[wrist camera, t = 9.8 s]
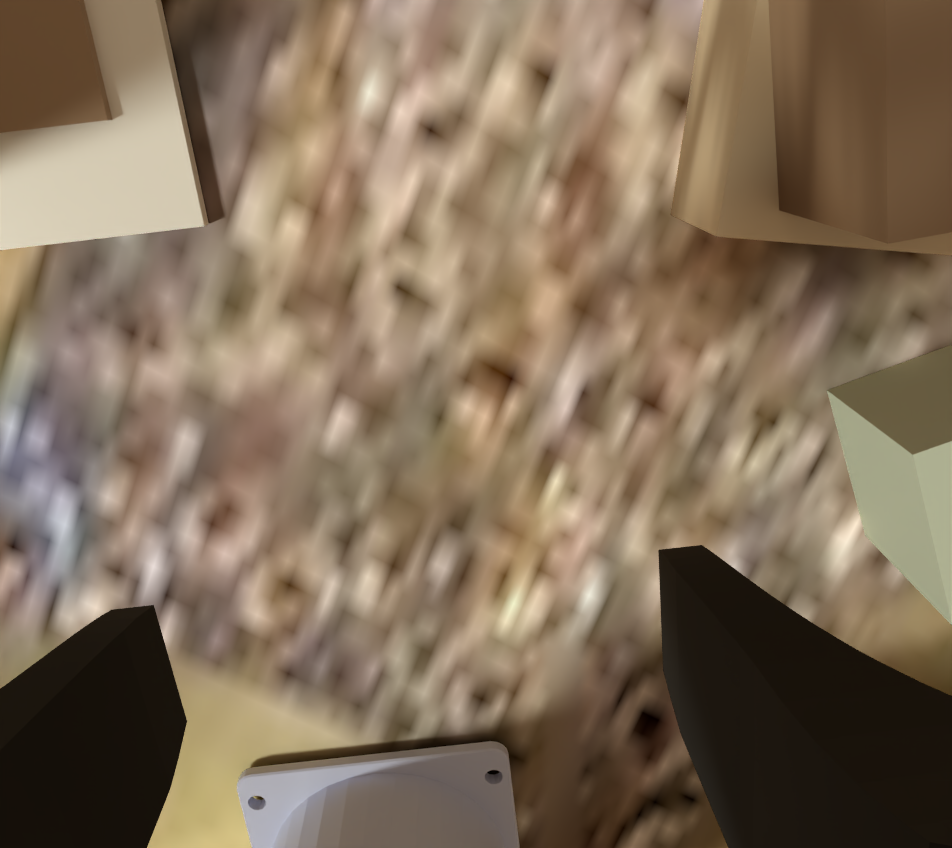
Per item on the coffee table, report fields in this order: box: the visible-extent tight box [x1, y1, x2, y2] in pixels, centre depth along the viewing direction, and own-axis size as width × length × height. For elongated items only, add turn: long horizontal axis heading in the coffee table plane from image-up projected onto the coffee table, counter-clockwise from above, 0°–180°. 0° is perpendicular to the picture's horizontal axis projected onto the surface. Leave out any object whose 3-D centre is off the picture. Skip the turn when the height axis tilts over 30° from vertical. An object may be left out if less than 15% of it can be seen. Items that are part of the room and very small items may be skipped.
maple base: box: [671, 0, 952, 256], centre depth 18 cm, size 6×6×4 cm
